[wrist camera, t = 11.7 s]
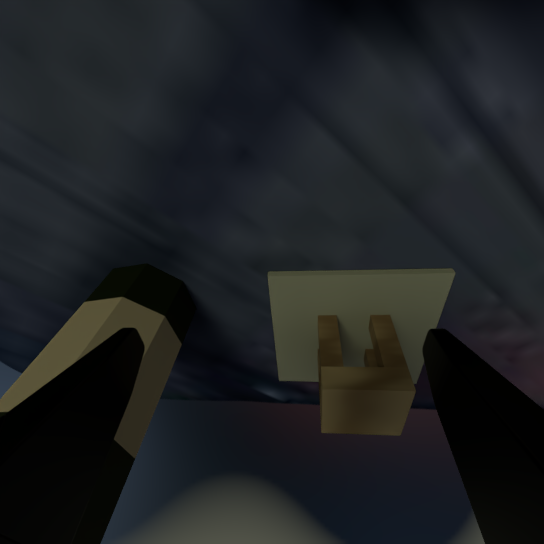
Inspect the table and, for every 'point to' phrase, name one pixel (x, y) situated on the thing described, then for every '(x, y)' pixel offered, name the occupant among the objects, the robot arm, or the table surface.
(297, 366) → the mat
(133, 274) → the wine bottle
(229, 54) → the table surface
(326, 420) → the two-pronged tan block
